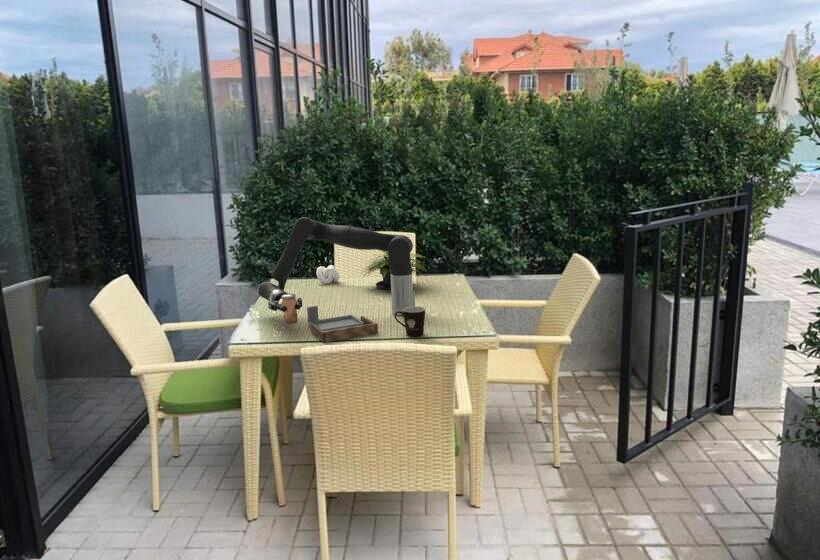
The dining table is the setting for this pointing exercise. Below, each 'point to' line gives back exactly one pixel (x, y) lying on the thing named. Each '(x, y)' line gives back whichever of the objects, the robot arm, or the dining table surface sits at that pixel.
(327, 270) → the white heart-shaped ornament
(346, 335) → the wooden base box
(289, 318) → the tea tin
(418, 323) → the coffee mug
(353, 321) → the sliding tray
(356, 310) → the dining table surface
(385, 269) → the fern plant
